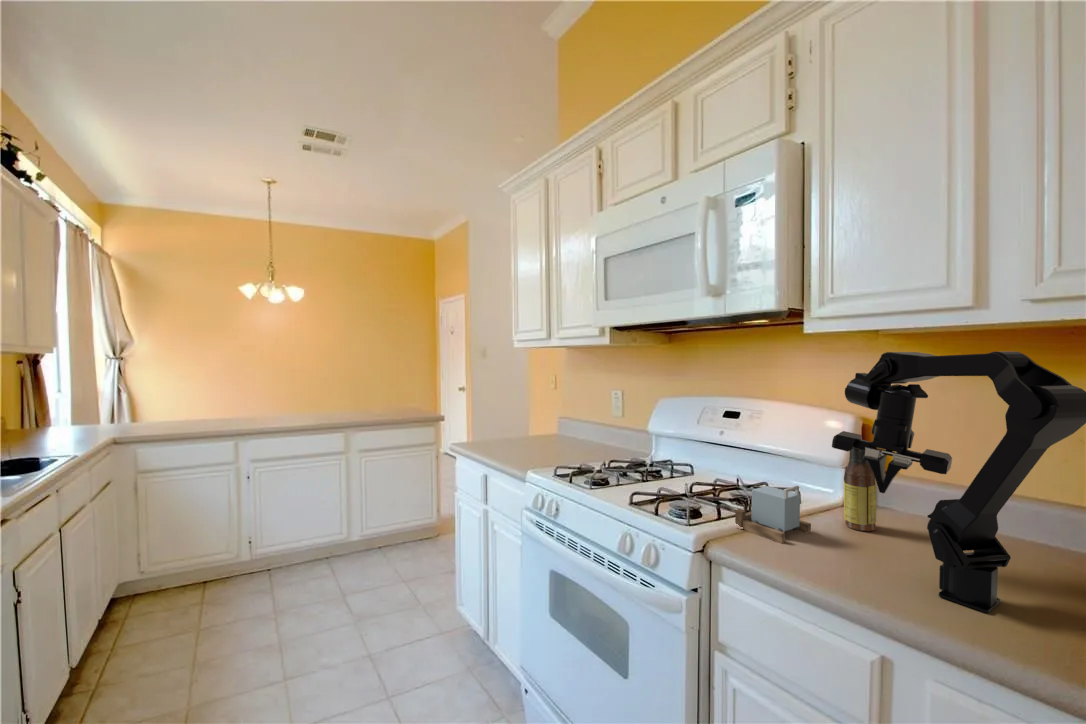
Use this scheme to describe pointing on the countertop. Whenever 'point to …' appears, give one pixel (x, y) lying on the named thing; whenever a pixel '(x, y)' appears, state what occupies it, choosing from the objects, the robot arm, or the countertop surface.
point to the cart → (776, 507)
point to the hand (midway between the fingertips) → (882, 492)
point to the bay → (764, 527)
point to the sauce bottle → (859, 493)
